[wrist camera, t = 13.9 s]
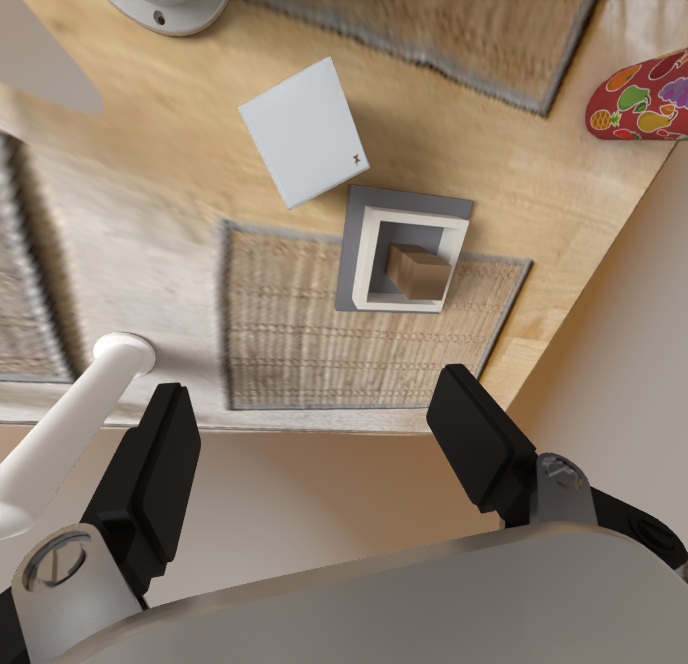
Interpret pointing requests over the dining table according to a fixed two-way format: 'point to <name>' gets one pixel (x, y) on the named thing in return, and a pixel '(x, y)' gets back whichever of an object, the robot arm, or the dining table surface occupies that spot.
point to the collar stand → (394, 227)
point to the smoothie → (643, 101)
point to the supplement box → (306, 133)
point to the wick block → (417, 272)
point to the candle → (67, 431)
